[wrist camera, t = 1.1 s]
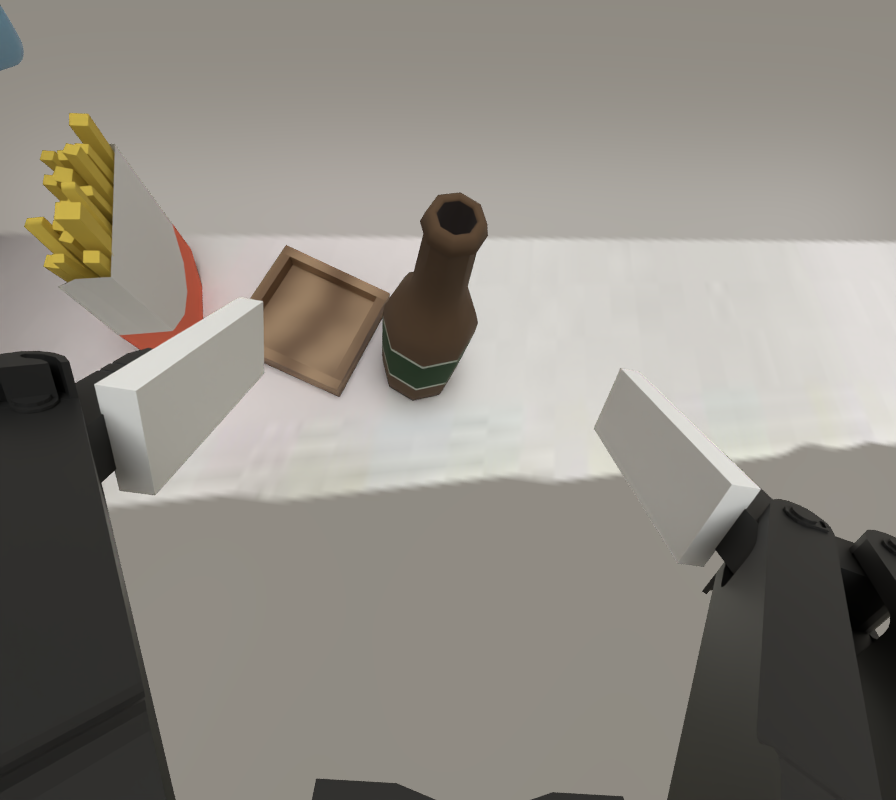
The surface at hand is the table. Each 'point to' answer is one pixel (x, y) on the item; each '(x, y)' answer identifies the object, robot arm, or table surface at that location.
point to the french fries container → (116, 243)
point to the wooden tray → (317, 319)
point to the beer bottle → (434, 300)
